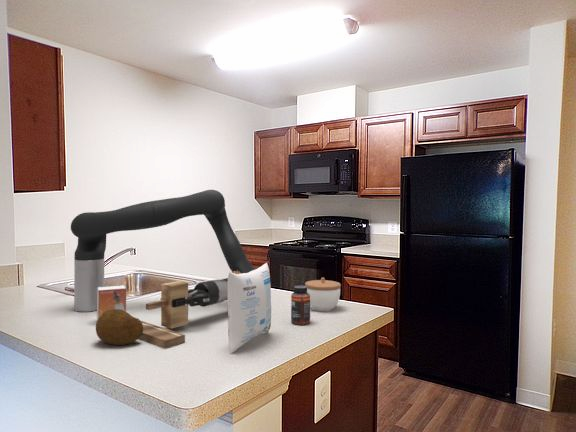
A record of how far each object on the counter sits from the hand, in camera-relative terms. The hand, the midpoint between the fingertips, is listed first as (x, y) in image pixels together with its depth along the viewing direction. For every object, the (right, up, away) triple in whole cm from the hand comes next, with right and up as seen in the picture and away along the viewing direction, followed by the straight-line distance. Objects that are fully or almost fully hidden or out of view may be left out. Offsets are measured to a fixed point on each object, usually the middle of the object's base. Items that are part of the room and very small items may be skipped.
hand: (167, 302), depth 113 cm
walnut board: (-5, -8, -3) cm, 10 cm away
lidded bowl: (+47, -9, +28) cm, 55 cm away
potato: (-10, -9, -10) cm, 17 cm away
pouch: (+24, -9, -8) cm, 27 cm away
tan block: (0, -7, 0) cm, 7 cm away
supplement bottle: (+38, -9, +10) cm, 41 cm away
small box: (-20, -8, +10) cm, 24 cm away
